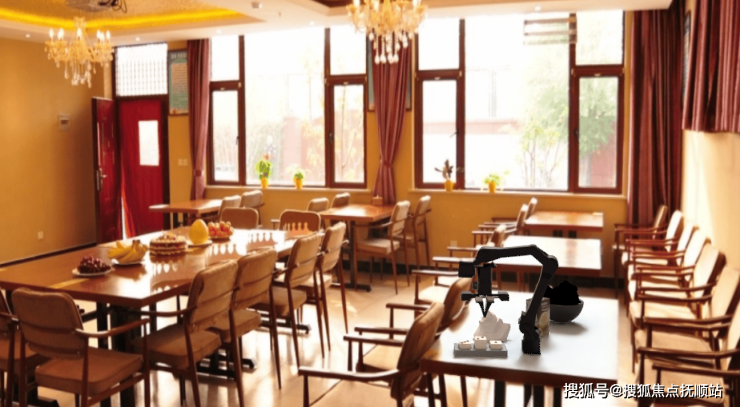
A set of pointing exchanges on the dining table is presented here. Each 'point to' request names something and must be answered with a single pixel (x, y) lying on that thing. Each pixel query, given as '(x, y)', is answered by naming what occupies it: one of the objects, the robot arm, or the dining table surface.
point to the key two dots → (480, 342)
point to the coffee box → (542, 316)
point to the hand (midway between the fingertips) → (484, 317)
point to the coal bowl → (564, 302)
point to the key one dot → (495, 345)
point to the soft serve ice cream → (492, 328)
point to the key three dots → (464, 344)
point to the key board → (481, 351)
